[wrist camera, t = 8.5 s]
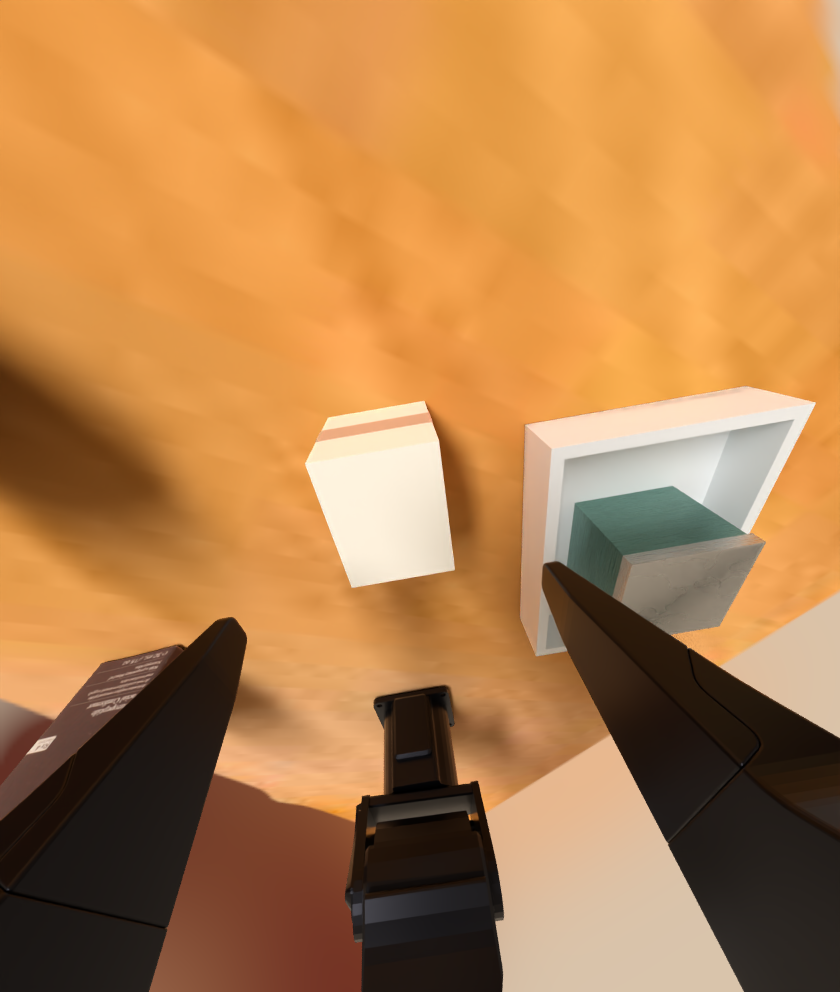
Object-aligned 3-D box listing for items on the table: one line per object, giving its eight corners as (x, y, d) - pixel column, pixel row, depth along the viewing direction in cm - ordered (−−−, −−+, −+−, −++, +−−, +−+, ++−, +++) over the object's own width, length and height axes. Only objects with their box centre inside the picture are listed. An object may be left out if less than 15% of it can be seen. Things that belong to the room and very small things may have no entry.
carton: (439, 506, 18) (455, 570, 14) (360, 520, 18) (351, 588, 14) (424, 400, 15) (439, 440, 11) (328, 416, 15) (304, 463, 11)
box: (175, 639, 22) (-16, 943, 11) (213, 674, 24) (84, 951, 14) (94, 659, 22) (-161, 971, 12) (140, 691, 24) (-39, 974, 14)
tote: (666, 592, 24) (700, 628, 21) (519, 618, 24) (536, 656, 21) (746, 385, 16) (815, 402, 13) (525, 424, 16) (551, 448, 13)
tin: (564, 574, 21) (609, 645, 16) (573, 501, 18) (631, 565, 13) (650, 559, 21) (719, 626, 16) (675, 483, 18) (765, 541, 13)
